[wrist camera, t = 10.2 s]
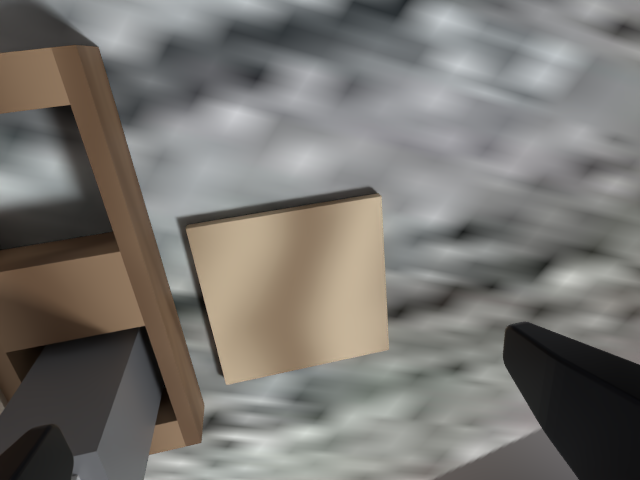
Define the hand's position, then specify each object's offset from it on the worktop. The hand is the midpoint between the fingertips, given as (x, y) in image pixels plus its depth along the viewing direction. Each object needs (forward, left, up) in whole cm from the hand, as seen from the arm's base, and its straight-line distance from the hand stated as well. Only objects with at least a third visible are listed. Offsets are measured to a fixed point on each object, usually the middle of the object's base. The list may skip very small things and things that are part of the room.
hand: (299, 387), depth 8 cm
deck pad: (-1, +5, -12) cm, 13 cm away
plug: (+8, +6, -12) cm, 16 cm away
